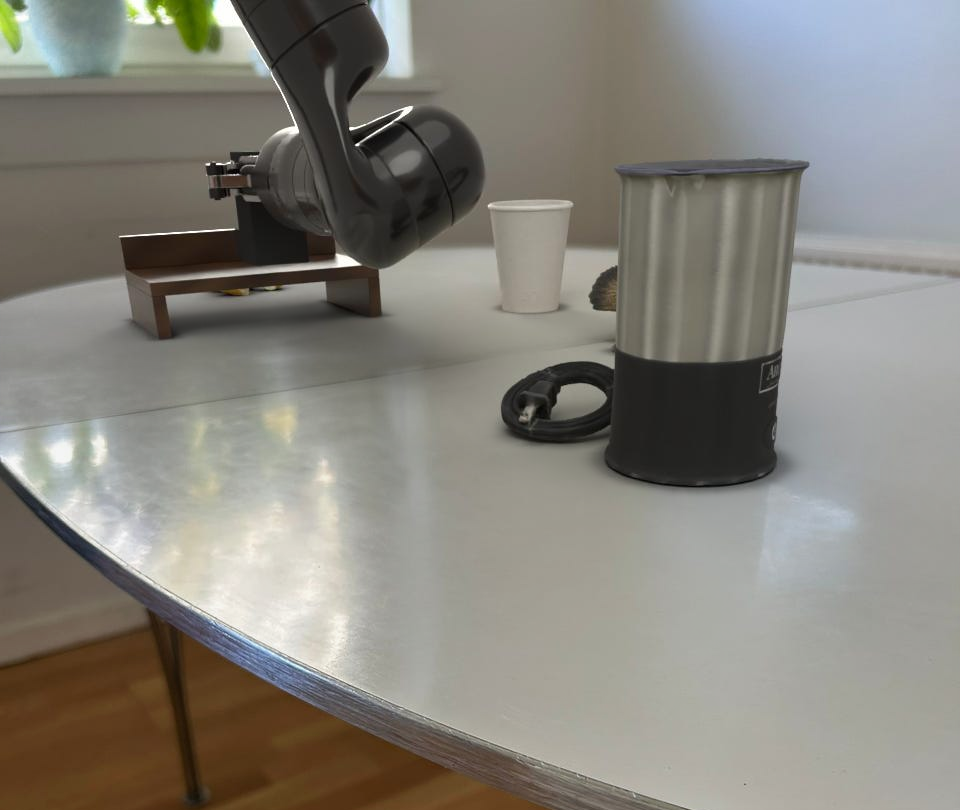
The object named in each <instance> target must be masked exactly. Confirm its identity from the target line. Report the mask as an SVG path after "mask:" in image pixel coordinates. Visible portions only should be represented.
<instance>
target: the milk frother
mask: <svg viewBox="0 0 960 810" xmlns="http://www.w3.org/2000/svg"><path fill="white" fill-rule="evenodd" d="M810 165H811V164H810V161H805V160H800V159H798V160H796V159H789V158H788V159H787V158H784V159H779V158H762V157H758V158H744V159H735V158H722V159H721V158H720V159H710V158H709V159H692V160H690V159H688V160H686V159H685V160H667V161H666V160H665V161H645V162H638V163H637V162H636V163H626V164H625V163H624V164H619V165H616V166H614V168H613V170H614V172H615V173H616V174H617V175H618V176H619V179H620V180H619V181H620V183H619V212H618V213H619V214H618V246H617V266H618V272H617V301H616V312H615V335H614V336H615V337H614V338H615V341H616V342H615V343H616V345H615V352H614V368H612V367H610V366H608V365H605V364H603V363H599V362H595V361H588V360H576V361H567V362H560V363H557V364H554V365H551V366H547V367H544V368H543V369H541V370H540V369H539V370H536V371H535V372H531V373H529V374H527V375H526V377H524V378H521V379H520V380H518V381H517V382H515V383H514V384H513V385H512V386H511V387H509V389H507V391H506V392H505V393H504V395H503V397H502V399H501V402H500V415H501V416H500V417H501V419H502V422H503V423H504V424H505V426H506V427H508V428H509V429H511V430H512V431H514V432H515V433H518V434H521V435H524V436H526V437H531V438H533V439H540V440H550V441H570V440H576V439H580V438H584V437H588V436H591V435H594V434H596V433H599V432H601V431H603V430H605V429H607V428H608V427H609V426H610V428H609V429H610V430H609V437H608V438H609V439H608V444H607V446H606V448H605V450H604V456H603V457H604V460H605V462H606V463H607V464H608V466H609V467H611V469H614V470H615V471H616V472H618V473H620V474H623V475H625V476H629V477H632V478H634V479H635V478H636V479H639V480H644V481H647V482H652V483H656V484H662V485H663V484H664V485H674V486H689V487H697V486H699V487H702V486H720V485H721V486H722V485H731V484H738V483H744V482H748V481H753V480H755V479H758V478H761V477H763V476H766V475H767V474H768V473H770V472H772V470H774V468H775V467H776V466H777V463H778V455H777V453H776V451H775V443H776V439H777V429H778V428H777V427H778V416H777V408H778V398H779V384H780V378H781V373H782V364H783V363H782V362H783V350H784V348H783V346H784V340H785V333H786V326H787V325H786V324H787V317H788V316H787V315H788V305H789V298H790V297H789V296H790V286H791V277H792V269H793V260H794V259H793V257H794V249H795V239H796V229H797V219H798V209H799V201H800V191H801V184H802V183H801V182H802V175H803V173H804V172H805V171H806V170H807V169H809V167H810ZM576 384H577V385H578V384H586V385H590V386H592V387H594V388H596V389H598V390H600V391H601V392H603V394H604V395H605V397H606V400H605V402H604V403H603V404H602V405H601V406H600V407H598V408H597V409H595V410H594V411H592V412H590V413H587V414H584V415H582V416H577V417H573V418H567V419H551V414H552V411H553V410H552V409H553V408H554V407H555V406H556V405H557V404H558V395H559V394H560V393H561V390H562V387H564V386H569V385H576Z"/></svg>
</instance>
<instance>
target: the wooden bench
mask: <svg viewBox="0 0 960 810" xmlns="http://www.w3.org/2000/svg"><path fill="white" fill-rule="evenodd" d="M234 229H235V228H228V229H227V228H225V229H212V230H197V231H196V230H195V231H180V232H179V231H178V232H166V233H165V232H164V233H148V234H135V235H119V236H118V243H119V249H120V255H121V259H122V265H123V272H124V276H125V277H124V278H125V281H126V287H127V288H126V289H127V293H128V299H129V304H130V310H131V316H132V320H133V322H134V323H136V324H137V325H139V326H140V327H141V328H143V329H144V330H145V331H146V332H148V333H149V334H151V335H152V337H155V339H157V340H158V341H161V340H171V339H173V336H172V330H171V323H170V317H169V310H168V303H167V297H168V296H180V295H190V294H203V293H215V292H216V291H217V292H218V291H219V292H220V291H225V290H236V289H248V288H250V289H258V288H263V287H270V286H281V285H283V286H290V285H301V284H303V285H304V284H313V283H324V284H325V293H326V301H327V302H328V303H330V304H334V305H335V306H336V305H337V306H338V307H341V308H345V309H347V310H350V311H353V312H356V313H359V314H361V315H364V316H366V317H369V318H377V317H383V313H382V311H383V310H382V296H381V283H380V269H372V268H369V267H366V266H364V265H361V264H360V263H358V262H357V261H355V260H353V259H352V258H351V257H349V256H348V255H344V254H340V253H337V248H336V240H335V239H334V237H333V236H325V235H319V234H314V233H309V232H306V233H307V244H308V255H309V262H305V263H292V264H278V265H264V266H256V265H253V264H250V263H247V262H244V261H243V259H242V258H240V257H238V255H237V247H236V238H235V230H234ZM281 287H282V286H281Z"/></svg>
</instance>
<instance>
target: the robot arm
mask: <svg viewBox="0 0 960 810" xmlns="http://www.w3.org/2000/svg"><path fill="white" fill-rule="evenodd" d="M228 2H229V4H230V6H231V8H232V10H233V12H234V14H235V15H236V17H237V19H238V21H239V23H240V24H241V26H242V27H243V29H244V31H245V32H246V33H247V36H248V37H249V39H250V40H251V42H252V44H253V46H254V48H255V49H256V51H257V52H258V54H259V56H260V58H261V59H262V61H263V62H264V64H265V67H267V69H268V71H269V72H270V75H271V77H272V78H273V80H274V81H275V84H276V85H277V87H278V89H279V90H280V92H281V94H282V97H283V99H284V101H285V103H286V105H287V108H288V110H289V112H290V115H291V117H292V120H293V122H294V125H295V126H289V127H285V128H283V129H281V130H278V131H277V132H275V133H274V134H272V135H271V136H270V137H269V138H268V140H267V141H266V142H265V143H264V144H263V146H262V148H261V150H259V151H260V153H259V155H258V156H241V157H240V159H239V162H238V163H236V161H231V160H229V161H230V162H226V163H219V162H218V161H210V162H209V163H205V165H204V166H205V173H206V180H207V187H208V197H209V199H213V200H214V201H221V200H222V199H226V198H231V197H232V196H231V195H234V197H235V196H240V195H242V196H243V197H244V199H245V201H249V202H262V204H263V205H264V207H265V208H266V210H267V211H268V212H269V213H270V214H271V216H272V217H273V218H275V219H276V220H277V221H278V222H280V223H281V224H283V225H285V226H287V227H289V228H292V229H295V230H300V231H304V232H309V233H314V234H319V235H325V236H333V237H334V239H335V243H336V244H337V245H338V246H339V247H340V249H341V250H342V251H343V252H344V253H345V254H346V256H348V257H351V258H352V259H353V260H355V261H357V262H358V263H360V264H361V265H364V266H366V267H369V268H372V269H379V270H384V269H387V268H390V267H393V266H394V265H396V264H398V263H400V262H401V261H403V260H404V259H406V258H407V257H409V256H410V255H412V254H414V252H416V251H417V250H419V249H421V248H422V247H424V246H425V245H427V244H429V243H430V242H431V241H433V240H435V239H436V238H437V237H439V236H441V235H442V234H443V233H445V232H446V231H448V230H449V229H451V228H453V227H454V226H456V225H458V224H459V223H460V222H461V221H463V220H464V219H466V218H467V217H468V216H470V215H471V214H472V213H473V211H475V210H476V208H477V207H478V205H479V203H480V202H481V200H482V198H483V195H484V193H485V188H486V183H487V163H486V158H485V157H486V156H485V154H484V151H483V148H482V145H481V144H480V141H479V139H478V138H477V136H476V134H475V132H474V131H473V130H472V129H471V128H470V126H469V125H468V124H467V123H466V122H465V121H463V119H461V118H460V116H458V115H457V114H455V113H454V112H452V111H450V110H448V109H446V108H444V107H441V106H440V105H439V106H438V105H435V104H432V103H431V104H430V103H419V104H414V105H413V104H412V105H410V106H406V107H403V108H400V109H398V110H396V111H393V112H391V113H389V114H386V115H384V116H381V117H378V118H376V119H374V120H372V121H370V122H368V123H366V124H363V125H360V126H357V127H350V115H349V114H350V107H351V106H352V104H353V102H354V101H355V100H356V99H357V97H359V96H360V94H361V93H362V92H364V91H365V90H366V89H367V88H368V87H369V86H370V85H371V84H372V83H373V82H374V81H375V79H377V78H378V76H379V75H380V74H381V73H382V72H383V70H384V69H385V67H386V65H387V63H388V62H389V61H388V60H389V58H390V47H389V43H388V39H387V38H386V35H385V33H384V30H383V27H382V26H381V24H380V22H379V20H378V18H377V16H376V14H375V12H374V11H373V9H372V7H371V6H370V5H369V1H368V0H228Z"/></svg>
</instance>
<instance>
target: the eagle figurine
mask: <svg viewBox="0 0 960 810" xmlns="http://www.w3.org/2000/svg"><path fill="white" fill-rule="evenodd" d="M617 272H618V264H615V265H614V266H611V267H609V268H607V269H605V271H602V272H601V273H600V274H599V276H598V277H596V279H595V282H594V283H593V284H592V286H591V291H590V292H589V294H588V295H587V296H588V299H589V304H591V305H592V310H594V311H599V312H614V313H616V301H617ZM614 342H615V343H614V344H613V345H612V346H611V347H610V348H611V350H613V353H615V345H616V340H615V341H614Z"/></svg>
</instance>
